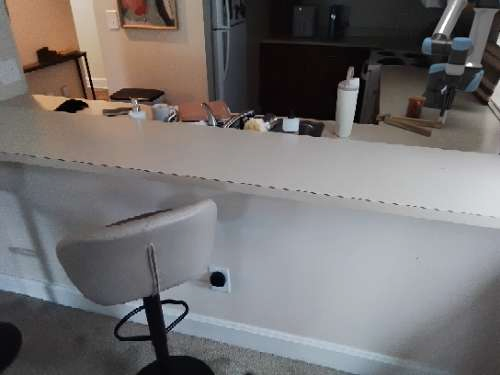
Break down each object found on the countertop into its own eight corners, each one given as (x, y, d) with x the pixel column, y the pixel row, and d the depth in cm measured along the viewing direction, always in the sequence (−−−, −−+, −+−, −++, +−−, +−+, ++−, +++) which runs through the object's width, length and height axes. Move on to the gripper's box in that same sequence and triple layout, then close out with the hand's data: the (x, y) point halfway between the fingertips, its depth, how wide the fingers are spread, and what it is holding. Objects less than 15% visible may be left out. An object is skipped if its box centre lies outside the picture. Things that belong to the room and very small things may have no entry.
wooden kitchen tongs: (382, 118, 197) (383, 112, 195) (434, 134, 176) (436, 127, 175) (376, 120, 194) (377, 113, 193) (428, 136, 174) (430, 129, 172)
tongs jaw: (391, 120, 194) (392, 114, 192) (440, 126, 186) (441, 121, 185) (390, 121, 191) (391, 116, 190) (440, 128, 184) (442, 122, 183)
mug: (402, 113, 205) (406, 94, 201) (419, 115, 204) (424, 96, 199) (406, 120, 195) (410, 100, 190) (424, 121, 194) (429, 101, 189)
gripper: (453, 70, 183) (440, 118, 194) (438, 73, 176) (426, 122, 187) (468, 73, 178) (455, 122, 189) (454, 76, 171) (440, 127, 182)
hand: (440, 122), depth 188 cm, fingers closed
